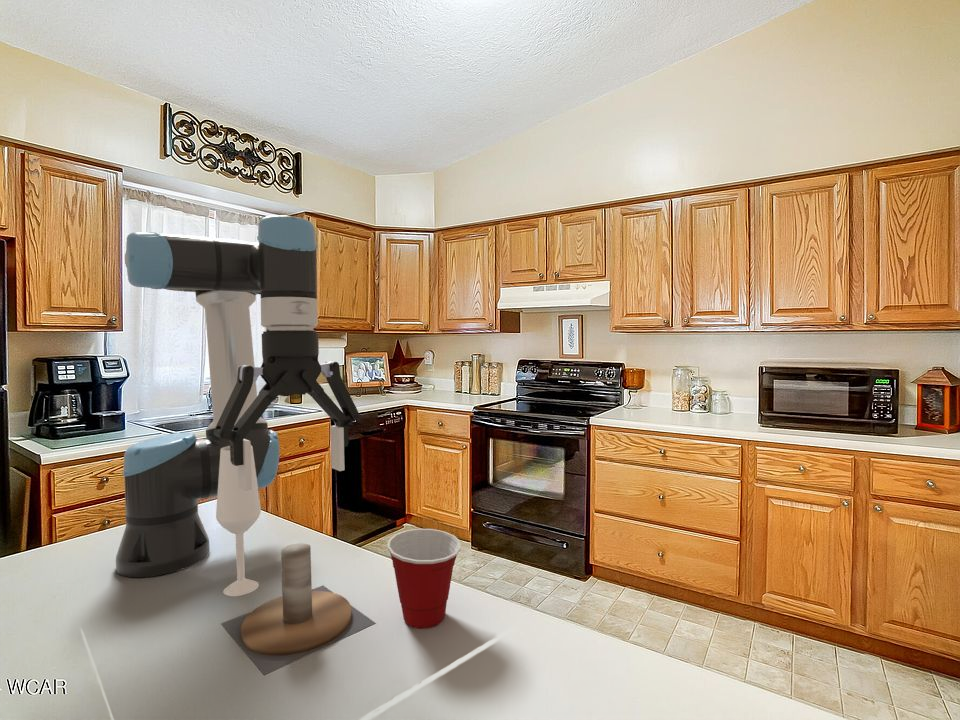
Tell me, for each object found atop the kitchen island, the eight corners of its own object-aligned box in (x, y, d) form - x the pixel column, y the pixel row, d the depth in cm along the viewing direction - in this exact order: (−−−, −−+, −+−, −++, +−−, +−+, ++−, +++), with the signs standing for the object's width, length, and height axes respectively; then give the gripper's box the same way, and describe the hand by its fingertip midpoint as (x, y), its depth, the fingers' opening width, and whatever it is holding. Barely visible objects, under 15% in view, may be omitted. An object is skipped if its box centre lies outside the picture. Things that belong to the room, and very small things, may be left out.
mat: (220, 626, 74) (220, 623, 74) (323, 588, 85) (323, 585, 85) (264, 678, 63) (264, 674, 63) (375, 626, 74) (375, 623, 74)
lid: (225, 623, 74) (222, 549, 74) (321, 587, 85) (320, 522, 84) (266, 671, 64) (263, 584, 63) (370, 623, 74) (369, 548, 73)
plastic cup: (436, 651, 68) (435, 563, 67) (372, 630, 73) (371, 548, 72) (475, 612, 78) (474, 534, 77) (416, 595, 83) (415, 522, 82)
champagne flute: (263, 577, 89) (258, 441, 88) (263, 595, 83) (258, 449, 82) (220, 585, 87) (215, 445, 86) (217, 604, 80) (211, 453, 79)
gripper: (201, 328, 61) (208, 504, 62) (380, 329, 78) (383, 466, 79) (183, 329, 66) (190, 491, 67) (354, 330, 83) (357, 458, 84)
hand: (294, 478), depth 73 cm, fingers open, 13 cm apart
